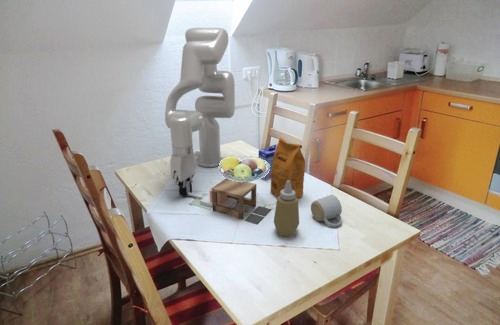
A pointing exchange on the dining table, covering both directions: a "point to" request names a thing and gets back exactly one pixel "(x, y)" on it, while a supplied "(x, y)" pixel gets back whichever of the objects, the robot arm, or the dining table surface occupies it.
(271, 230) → the dining table surface
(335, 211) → the ceramic mug
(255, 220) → the pit pads
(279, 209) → the squeeze bottle
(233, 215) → the tunnel
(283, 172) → the coffee package
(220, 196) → the block
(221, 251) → the dining table surface
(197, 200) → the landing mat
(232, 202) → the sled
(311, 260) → the dining table surface
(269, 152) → the ink cartridge box
